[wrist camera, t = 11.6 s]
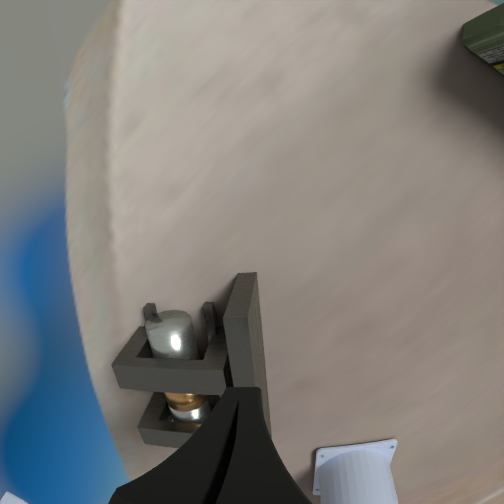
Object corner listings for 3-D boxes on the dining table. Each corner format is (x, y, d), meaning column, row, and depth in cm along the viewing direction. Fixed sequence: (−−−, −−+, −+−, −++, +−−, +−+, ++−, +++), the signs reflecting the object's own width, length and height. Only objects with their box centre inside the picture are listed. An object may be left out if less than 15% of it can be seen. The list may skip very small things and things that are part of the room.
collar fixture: (276, 487, 29) (274, 536, 22) (194, 483, 30) (182, 529, 23) (258, 272, 21) (248, 325, 15) (126, 278, 22) (77, 323, 16)
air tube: (224, 437, 24) (196, 456, 22) (201, 420, 27) (174, 437, 25) (200, 319, 21) (160, 338, 19) (174, 306, 23) (136, 322, 21)
